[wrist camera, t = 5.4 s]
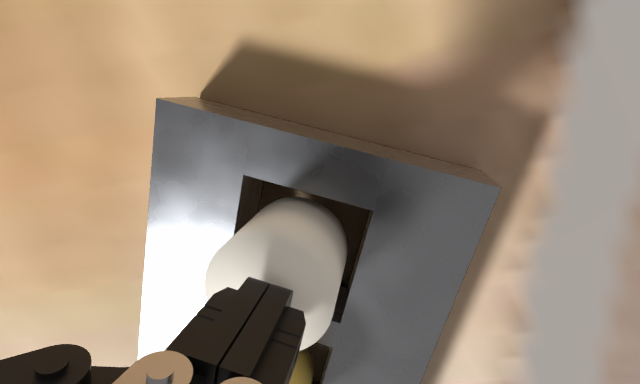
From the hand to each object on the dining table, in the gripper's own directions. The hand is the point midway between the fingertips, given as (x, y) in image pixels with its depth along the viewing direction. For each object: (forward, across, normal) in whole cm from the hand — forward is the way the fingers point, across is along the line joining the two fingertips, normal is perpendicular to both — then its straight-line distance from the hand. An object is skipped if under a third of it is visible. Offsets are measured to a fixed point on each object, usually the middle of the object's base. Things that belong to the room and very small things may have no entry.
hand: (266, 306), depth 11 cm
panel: (+7, 0, +7) cm, 10 cm away
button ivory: (+5, 0, 0) cm, 5 cm away
